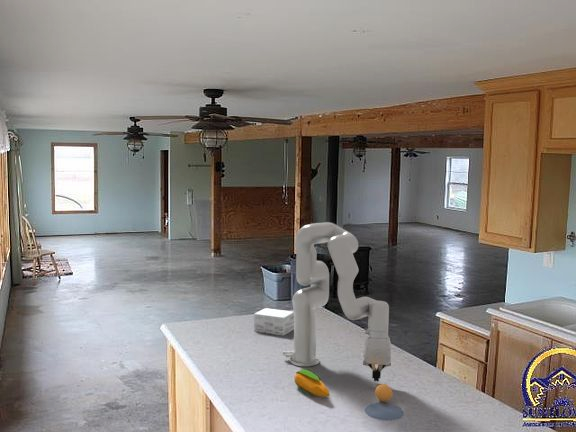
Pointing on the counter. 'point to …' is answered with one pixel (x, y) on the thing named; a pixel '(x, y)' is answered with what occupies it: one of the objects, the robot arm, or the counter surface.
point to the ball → (383, 393)
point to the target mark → (384, 411)
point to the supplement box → (274, 321)
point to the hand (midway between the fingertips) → (376, 379)
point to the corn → (311, 383)
